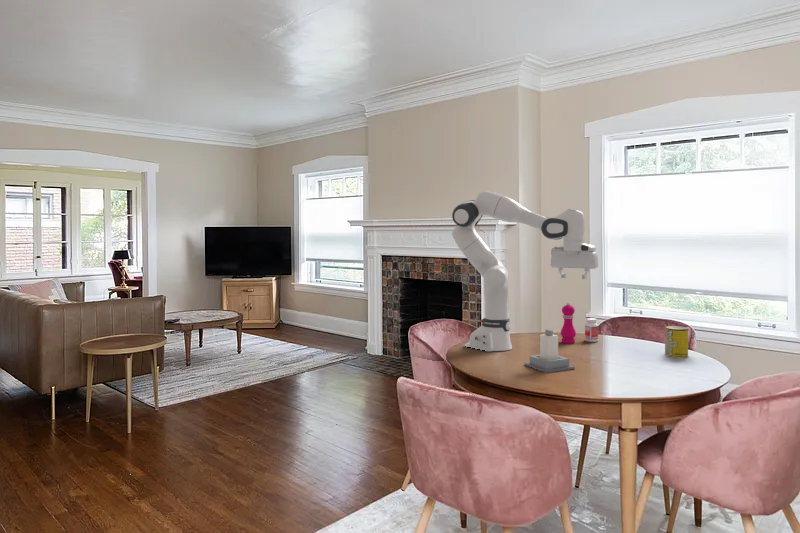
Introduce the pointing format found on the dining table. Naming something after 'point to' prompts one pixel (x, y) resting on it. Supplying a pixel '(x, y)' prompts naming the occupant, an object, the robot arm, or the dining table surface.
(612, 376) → the dining table surface
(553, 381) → the dining table surface
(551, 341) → the spigot peg
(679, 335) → the yellow tin can
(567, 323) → the pepper mill
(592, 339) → the pill bottle
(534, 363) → the socket dock
